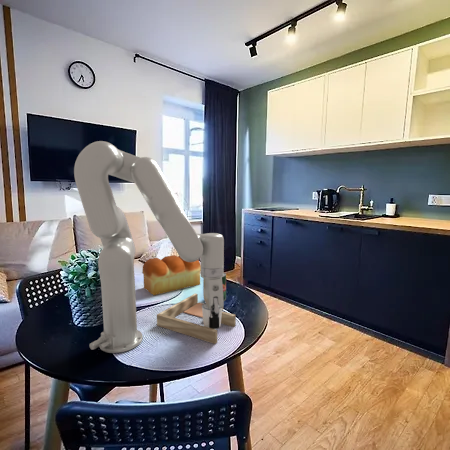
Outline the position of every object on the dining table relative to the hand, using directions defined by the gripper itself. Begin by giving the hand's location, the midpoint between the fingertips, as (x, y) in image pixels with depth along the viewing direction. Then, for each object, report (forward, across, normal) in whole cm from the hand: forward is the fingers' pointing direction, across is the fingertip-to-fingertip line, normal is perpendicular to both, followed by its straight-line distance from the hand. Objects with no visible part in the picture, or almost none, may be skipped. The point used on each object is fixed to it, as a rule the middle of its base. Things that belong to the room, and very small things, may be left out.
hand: (212, 323), depth 94 cm
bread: (+3, +47, +9) cm, 48 cm away
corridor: (+3, +8, +1) cm, 9 cm away
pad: (+2, +16, 0) cm, 16 cm away
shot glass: (+1, 0, 0) cm, 1 cm away
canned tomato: (+3, +26, -8) cm, 27 cm away
